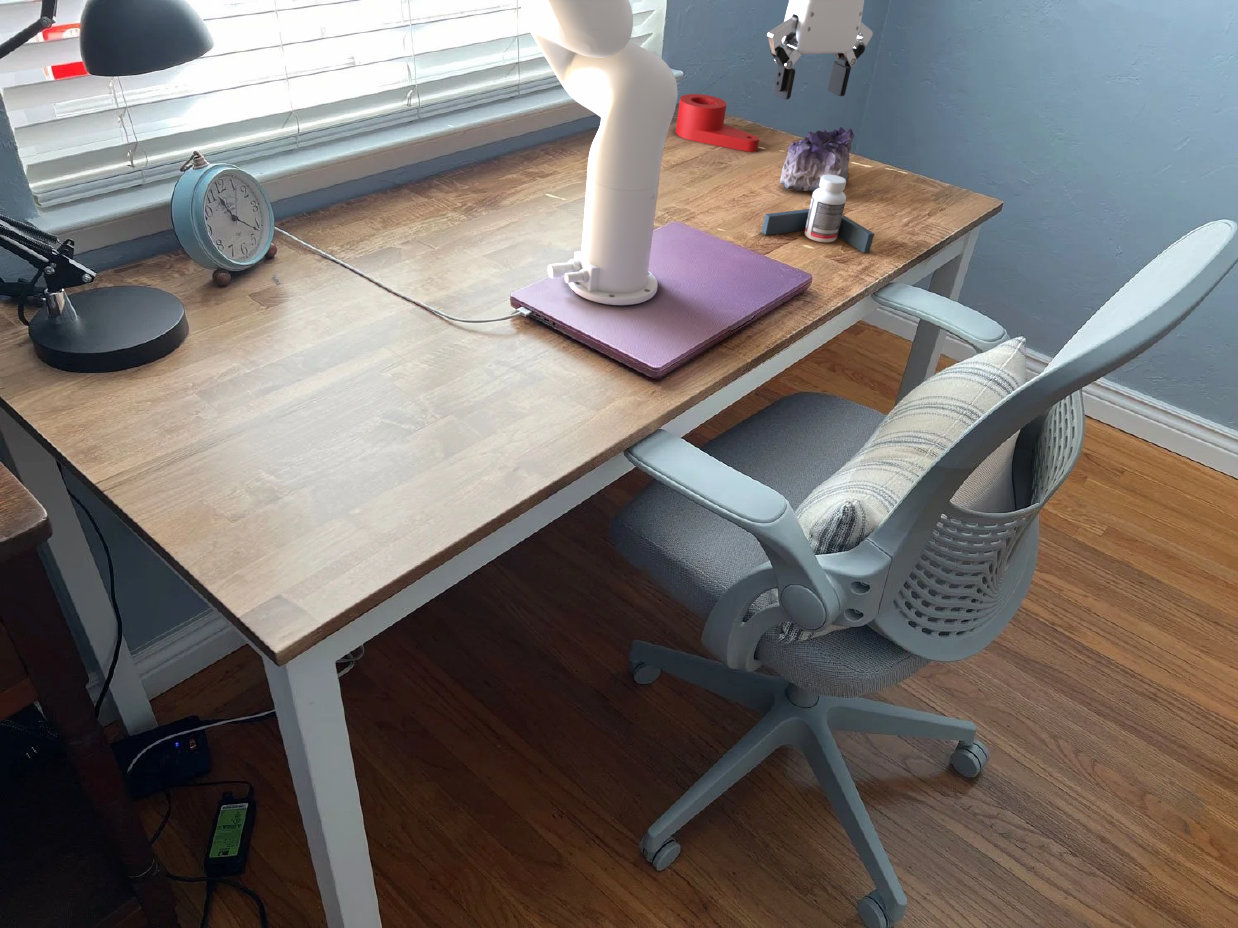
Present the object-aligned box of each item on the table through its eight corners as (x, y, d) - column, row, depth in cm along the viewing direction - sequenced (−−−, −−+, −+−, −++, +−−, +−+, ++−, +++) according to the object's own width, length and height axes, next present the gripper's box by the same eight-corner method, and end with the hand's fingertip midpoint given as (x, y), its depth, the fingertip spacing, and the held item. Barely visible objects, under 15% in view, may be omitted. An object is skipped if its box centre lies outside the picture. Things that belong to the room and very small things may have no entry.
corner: (804, 262, 147) (808, 243, 145) (761, 232, 155) (764, 214, 153) (869, 252, 153) (874, 233, 151) (824, 224, 161) (829, 206, 159)
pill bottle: (843, 240, 156) (857, 182, 150) (819, 245, 153) (833, 186, 147) (820, 228, 159) (834, 171, 153) (797, 233, 156) (809, 174, 151)
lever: (667, 133, 193) (671, 100, 189) (689, 124, 199) (694, 91, 195) (746, 156, 186) (752, 122, 182) (766, 146, 192) (772, 112, 188)
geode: (798, 159, 187) (817, 109, 182) (853, 181, 185) (873, 131, 179) (767, 184, 172) (786, 130, 166) (826, 208, 169) (847, 154, 163)
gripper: (869, -45, 130) (839, 85, 140) (766, -47, 123) (743, 90, 133) (906, -34, 125) (873, 100, 135) (801, -36, 118) (774, 106, 128)
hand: (808, 95), depth 134 cm, fingers open, 9 cm apart
